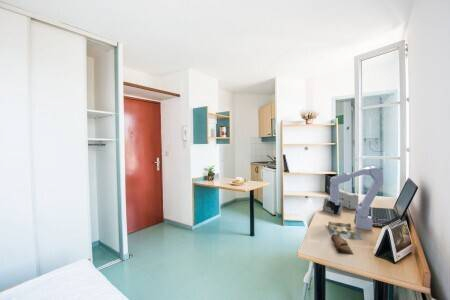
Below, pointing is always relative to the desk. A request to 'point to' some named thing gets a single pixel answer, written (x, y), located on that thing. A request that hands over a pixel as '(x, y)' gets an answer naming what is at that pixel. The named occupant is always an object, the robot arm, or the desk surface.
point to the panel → (340, 226)
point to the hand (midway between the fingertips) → (334, 212)
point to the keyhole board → (348, 235)
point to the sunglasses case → (341, 245)
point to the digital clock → (327, 207)
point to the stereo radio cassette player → (348, 199)
